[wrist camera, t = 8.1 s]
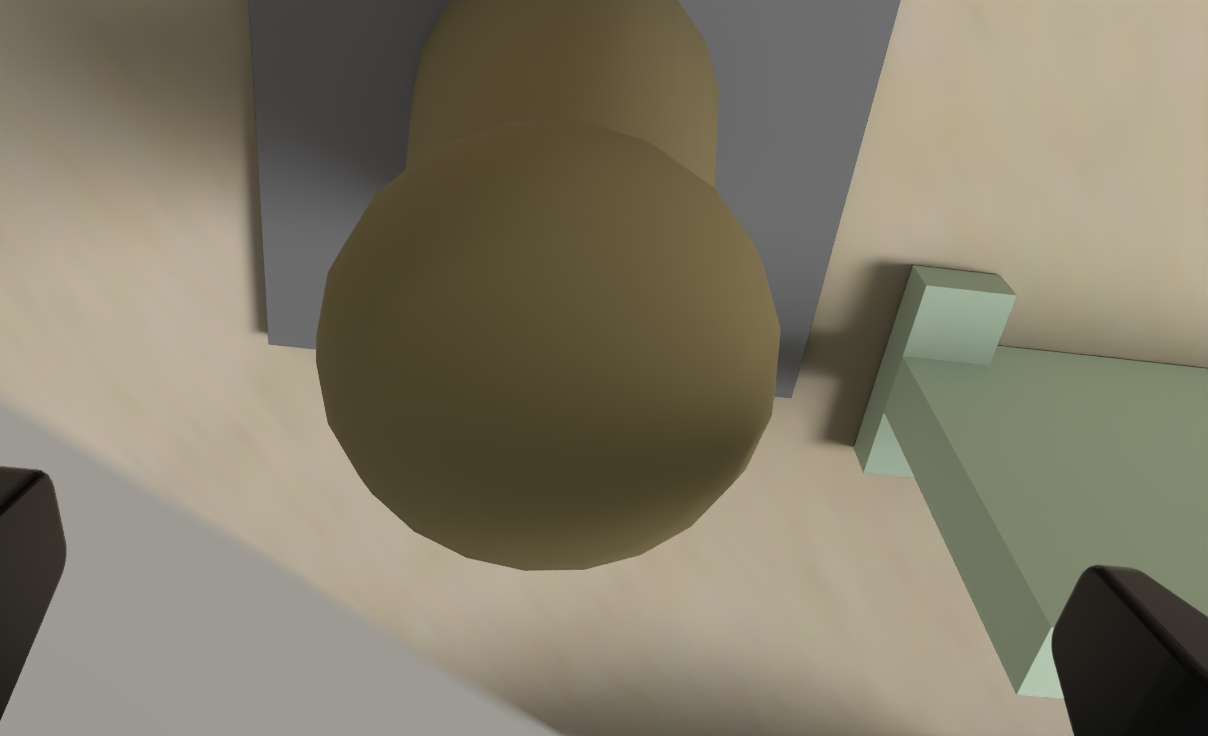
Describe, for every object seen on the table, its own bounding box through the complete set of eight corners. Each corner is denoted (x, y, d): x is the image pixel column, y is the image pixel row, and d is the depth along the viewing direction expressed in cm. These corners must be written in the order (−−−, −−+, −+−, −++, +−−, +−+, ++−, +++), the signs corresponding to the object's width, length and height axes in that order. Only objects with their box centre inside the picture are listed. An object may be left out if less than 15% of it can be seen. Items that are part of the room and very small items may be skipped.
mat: (788, 389, 23) (791, 397, 23) (273, 335, 22) (268, 344, 22) (945, -190, 17) (952, -190, 16) (238, -299, 16) (231, -302, 15)
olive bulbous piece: (349, 119, 19) (114, 447, 10) (559, -128, 17) (521, -15, 7) (572, 308, 21) (559, 725, 12) (783, 112, 19) (973, 434, 10)
